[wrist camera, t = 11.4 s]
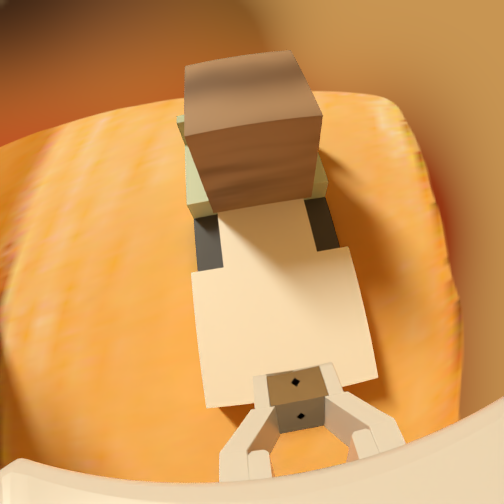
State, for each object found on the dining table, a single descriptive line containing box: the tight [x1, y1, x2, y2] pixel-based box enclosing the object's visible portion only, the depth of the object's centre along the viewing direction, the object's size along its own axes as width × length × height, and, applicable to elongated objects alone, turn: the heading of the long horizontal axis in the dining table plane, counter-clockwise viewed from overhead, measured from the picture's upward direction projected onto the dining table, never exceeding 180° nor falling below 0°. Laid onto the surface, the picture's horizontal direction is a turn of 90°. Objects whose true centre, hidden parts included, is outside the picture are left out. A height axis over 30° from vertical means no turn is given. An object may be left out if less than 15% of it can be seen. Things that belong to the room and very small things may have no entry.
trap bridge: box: [177, 115, 378, 408], centre depth 23 cm, size 24×12×6 cm, turn 8°
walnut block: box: [184, 50, 323, 213], centre depth 22 cm, size 8×8×9 cm
